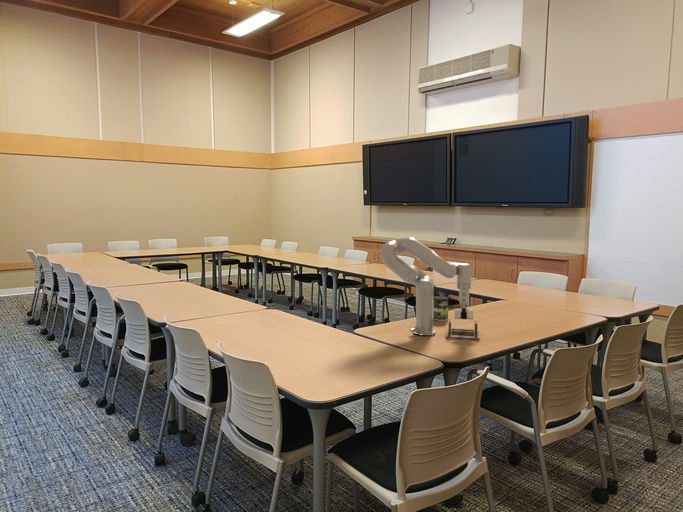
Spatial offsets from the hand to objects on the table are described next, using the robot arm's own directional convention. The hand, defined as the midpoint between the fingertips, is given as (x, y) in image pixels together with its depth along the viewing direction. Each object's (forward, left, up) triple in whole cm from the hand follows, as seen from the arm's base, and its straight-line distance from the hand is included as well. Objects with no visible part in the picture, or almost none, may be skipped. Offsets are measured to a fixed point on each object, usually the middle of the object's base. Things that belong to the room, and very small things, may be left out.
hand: (463, 317), depth 266 cm
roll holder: (0, 0, -10) cm, 10 cm away
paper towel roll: (0, 0, +2) cm, 2 cm away
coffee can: (+18, +34, -11) cm, 40 cm away
